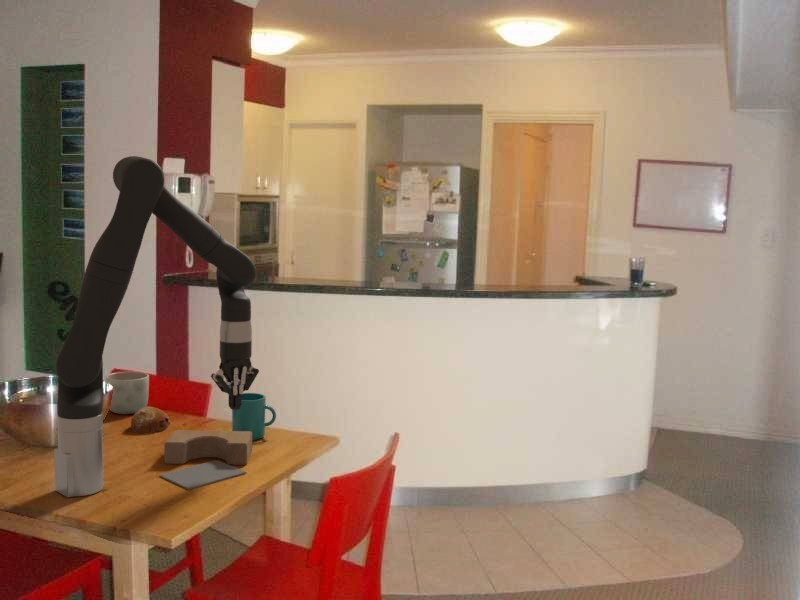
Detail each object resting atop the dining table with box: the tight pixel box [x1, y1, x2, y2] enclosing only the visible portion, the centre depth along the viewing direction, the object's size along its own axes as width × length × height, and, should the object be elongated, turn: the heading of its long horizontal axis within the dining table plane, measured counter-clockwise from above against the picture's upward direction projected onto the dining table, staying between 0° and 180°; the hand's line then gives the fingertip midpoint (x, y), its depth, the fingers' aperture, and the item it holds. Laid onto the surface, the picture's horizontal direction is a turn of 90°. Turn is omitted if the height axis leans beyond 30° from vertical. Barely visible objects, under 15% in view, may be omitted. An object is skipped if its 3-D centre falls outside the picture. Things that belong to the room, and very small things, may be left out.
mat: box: [159, 459, 247, 491], centre depth 191 cm, size 16×12×1 cm
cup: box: [231, 392, 277, 441], centre depth 222 cm, size 9×12×11 cm
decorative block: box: [163, 429, 253, 466], centre depth 203 cm, size 11×6×20 cm
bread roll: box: [130, 405, 171, 434], centre depth 228 cm, size 10×10×8 cm
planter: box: [105, 371, 150, 415], centre depth 244 cm, size 12×12×11 cm
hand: (235, 408), depth 196 cm, fingers closed
